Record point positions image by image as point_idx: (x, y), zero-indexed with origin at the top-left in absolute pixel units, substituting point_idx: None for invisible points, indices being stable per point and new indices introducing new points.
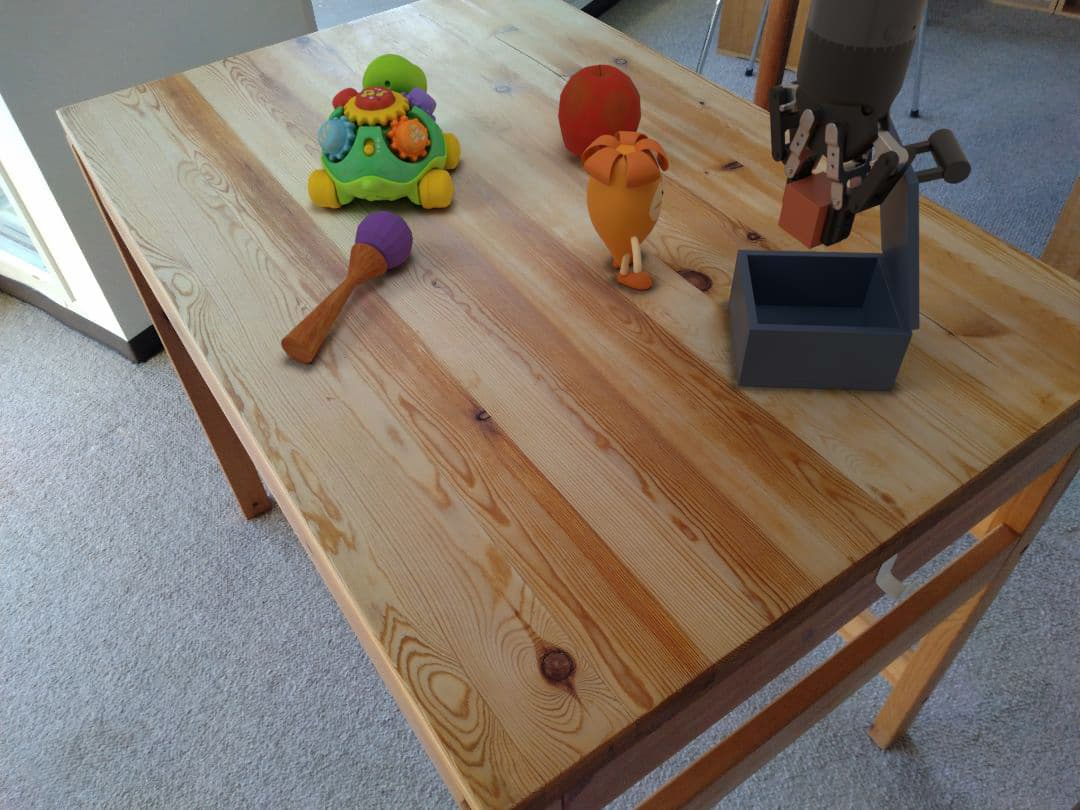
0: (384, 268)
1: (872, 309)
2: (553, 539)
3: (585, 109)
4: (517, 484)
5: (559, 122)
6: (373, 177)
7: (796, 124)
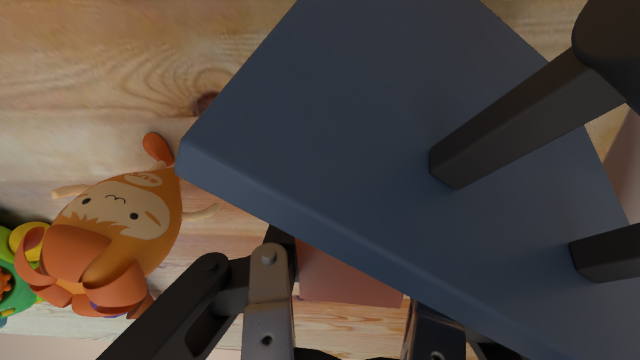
0: (147, 298)
1: None
2: (406, 312)
3: None
4: (360, 307)
5: None
6: (38, 297)
7: (179, 347)
